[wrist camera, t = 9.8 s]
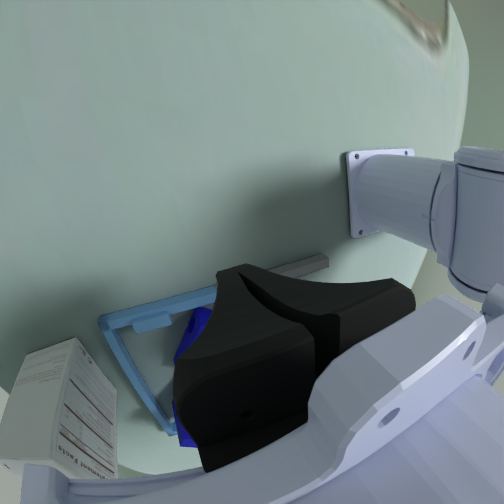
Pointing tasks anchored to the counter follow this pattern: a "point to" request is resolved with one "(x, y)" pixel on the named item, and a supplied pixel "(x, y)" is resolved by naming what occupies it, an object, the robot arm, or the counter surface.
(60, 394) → the supplement box
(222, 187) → the counter surface
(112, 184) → the counter surface
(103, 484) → the robot arm
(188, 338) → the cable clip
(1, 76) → the counter surface
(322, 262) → the blue grey open frame
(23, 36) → the counter surface
